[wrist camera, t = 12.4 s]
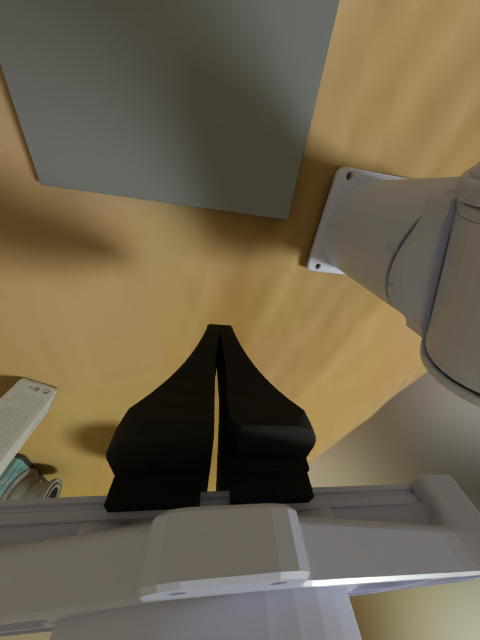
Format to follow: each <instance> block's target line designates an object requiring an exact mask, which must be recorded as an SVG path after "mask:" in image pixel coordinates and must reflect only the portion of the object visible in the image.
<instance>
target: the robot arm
mask: <svg viewBox="0 0 480 640" xmlns="http://www.w3.org/2000/svg"><path fill="white" fill-rule="evenodd" d="M347 173H350V178H349V179H348V180H347V179H346V175H347ZM317 264H319V266H318V267H317V268H315V266H316V265H317ZM307 268H308V269H309V270H310V271H317V272H326V273H335V274H344V275H348V276H349V277H350V278H352V279H353V280H355V281H356V282H357V283H359V284H360V285H362V286H363V287H365V288H366V289H367V290H369V291H370V292H372V293H373V294H375V295H376V296H377V297H379V298H380V299H382V300H383V301H384V302H386V303H387V304H389V305H390V306H392V307H393V308H394V309H396V310H398V311H399V312H400V313H402V314H403V315H404V316H405V318H406V325H407V326H408V327H409V328H410V329H412V330H413V331H414V332H416V333H417V334H418V335H420V336H421V337H423V339H422V341H421V346H420V355H421V359H422V362H423V364H424V366H425V367H426V369H427V370H428V372H429V373H430V374H431V375H432V376H433V377H434V378H435V379H436V380H437V381H438V382H439V383H440V384H442V385H443V386H444V387H445V388H446V389H448V390H449V391H451V392H453V393H454V394H456V395H457V396H459V397H461V398H462V399H464V400H466V401H468V402H470V403H472V404H474V405H476V406H478V407H480V162H479V163H477V164H476V165H475V166H473V167H472V168H470V169H469V170H467V171H466V172H465V173H463V174H462V175H461V177H442V178H421V179H409V178H403V177H398V176H393V175H387V174H382V173H377V172H371V171H366V170H360V169H355V168H350V167H341V168H339V169H338V170H337V171H336V173H335V176H334V179H333V183H332V186H331V189H330V192H329V195H328V198H327V202H326V205H325V208H324V211H323V214H322V217H321V221H320V224H319V227H318V230H317V233H316V236H315V240H314V243H313V246H312V249H311V252H310V256H309V259H308V262H307ZM216 369H217V377H218V393H219V428H218V455H217V480H216V491H213V492H207V488H208V480H209V474H210V466H211V457H212V449H213V441H214V399H215V376H216ZM315 442H316V436H315V433H314V431H313V428H312V426H311V423H310V421H309V419H308V417H307V415H306V413H305V411H304V410H303V409H301V408H300V407H299V406H297V405H296V404H295V403H293V402H292V401H291V400H289V399H288V398H287V397H285V396H284V395H283V394H282V393H281V392H279V391H278V390H277V389H276V388H275V387H274V386H273V385H272V384H271V383H270V382H269V381H268V380H267V379H266V378H265V377H264V376H263V375H262V374H261V373H260V372H259V371H258V369H257V368H256V367H255V366H254V364H253V363H252V362H251V360H250V359H249V358H248V356H247V355H246V353H245V352H244V350H243V348H242V347H241V345H240V343H239V341H238V339H237V337H236V335H235V333H234V331H233V328H232V327H231V326H230V325H215V324H209V325H208V326H207V329H206V331H205V333H204V335H203V337H202V339H201V340H200V342H199V344H198V345H197V347H196V348H195V350H194V351H193V352H192V354H191V355H190V356H189V358H188V359H187V360H186V361H185V362H184V363H183V365H182V366H181V367H180V368H179V369H178V370H177V371H176V372H175V373H174V374H173V375H172V376H171V377H170V378H169V379H167V380H166V381H165V382H164V383H163V384H162V385H160V386H159V387H158V388H157V389H156V390H154V391H153V392H152V393H151V394H149V395H148V396H146V397H145V398H144V399H142V400H141V401H139V402H138V403H137V404H135V405H134V406H132V407H131V408H129V410H128V411H127V412H126V414H125V416H124V417H123V419H122V420H121V422H120V424H119V425H118V427H117V429H116V431H115V433H114V435H113V438H112V440H111V442H110V445H109V447H108V450H107V452H106V458H107V461H108V463H109V465H110V467H111V469H112V471H113V473H114V475H115V477H114V479H113V482H112V485H111V487H110V490H109V493H108V495H107V496H85V497H60V498H34V499H9V500H0V637H1V636H11V635H21V634H30V633H39V632H50V631H52V634H51V636H50V639H49V640H362V639H361V635H360V632H359V629H358V625H357V622H356V619H355V616H354V612H353V609H352V606H351V603H350V599H349V596H354V595H361V594H369V593H376V592H384V591H391V590H398V589H407V588H414V587H422V586H430V585H437V584H445V583H454V582H462V581H468V580H474V579H479V578H480V513H479V512H478V510H477V509H476V508H475V507H474V506H473V504H472V503H471V502H470V500H469V499H468V498H467V497H466V495H465V494H464V493H463V491H462V490H461V489H460V488H459V486H458V485H457V484H456V483H455V481H454V480H453V479H452V478H451V476H450V475H448V474H436V475H422V476H419V477H417V478H415V479H414V480H412V481H411V482H410V484H391V485H367V486H341V487H317V488H312V487H311V484H310V480H309V477H308V474H307V472H308V471H309V466H308V463H307V459H306V457H307V456H308V454H309V453H310V451H311V450H312V448H313V447H314V445H315Z"/></svg>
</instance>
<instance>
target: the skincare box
mask: <svg viewBox="0 0 480 640" xmlns="http://www.w3.org/2000/svg"><path fill="white" fill-rule="evenodd" d="M56 392H57V389H56V388H54V387H52V386H49V385H46V384H43V383H39V382H36V381H33V380H29V379H26V378H22V379H20V380H18V381H17V382H16V383H15V384H14V385H13V386H12V387H11V388H10V389H9V390H8V391H7V392H6V393H5V394H4V395H3V396H2V397H1V398H0V475H1V474H2V473H3V471H4V470H5V469H6V467H7V466H8V465H9V463H10V462H11V461H12V459H13V458H14V457H15V455H16V454H17V452H18V451H19V450H20V448H21V447H22V446H23V444H24V443H25V442H26V440H27V439H28V438H29V436H30V435H31V434H32V432H33V431H34V429H35V428H36V427H37V425H38V424H39V423H40V421H41V420H42V419H43V417H44V416H45V415H46V413H47V412H48V410H49V408H50V406H51V403H52V401H53V399H54V397H55V394H56Z"/></svg>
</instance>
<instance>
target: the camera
mask: <svg viewBox="0 0 480 640" xmlns="http://www.w3.org/2000/svg"><path fill="white" fill-rule="evenodd" d="M61 489H62V480H61V479H53V480H51V481H50V482H48V481H47V480H46V479H45V478H44V476H43V475H42V474H41V473H40V472H39V471H38V470H37V468H36V467H35V466H34V465H33V464H32V463H31V462H30V460H29V459H28V458H27V457H26V456H25V455H23V454H19V453H17V454H16V455H15V457H14V458H13V459H12V461H11V462H10V463H9V465H8V466H7V467H6V469H5V470H4V471H3V473H2V474H1V475H0V500H9V499H34V498H58V497H59V495H60V492H61Z"/></svg>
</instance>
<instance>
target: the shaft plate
mask: <svg viewBox="0 0 480 640" xmlns="http://www.w3.org/2000/svg"><path fill="white" fill-rule="evenodd" d="M338 4H339V0H0V65H1V68H2V71H3V74H4V77H5V80H6V83H7V86H8V89H9V92H10V95H11V98H12V101H13V104H14V107H15V110H16V113H17V116H18V119H19V122H20V125H21V128H22V131H23V134H24V137H25V140H26V143H27V146H28V149H29V152H30V155H31V158H32V161H33V164H34V167H35V170H36V173H37V176H38V179H39V182H40V185H47V186H54V187H61V188H67V189H74V190H81V191H88V192H95V193H102V194H109V195H116V196H123V197H130V198H137V199H144V200H151V201H158V202H165V203H172V204H179V205H186V206H193V207H200V208H207V209H214V210H221V211H228V212H235V213H242V214H249V215H256V216H263V217H270V218H277V219H284V220H288V217H289V212H290V208H291V204H292V200H293V195H294V191H295V187H296V183H297V178H298V174H299V170H300V166H301V161H302V157H303V153H304V149H305V144H306V140H307V136H308V132H309V128H310V123H311V119H312V115H313V111H314V106H315V102H316V98H317V94H318V89H319V85H320V81H321V77H322V72H323V68H324V64H325V60H326V55H327V51H328V47H329V43H330V38H331V34H332V30H333V26H334V21H335V17H336V13H337V9H338Z"/></svg>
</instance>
